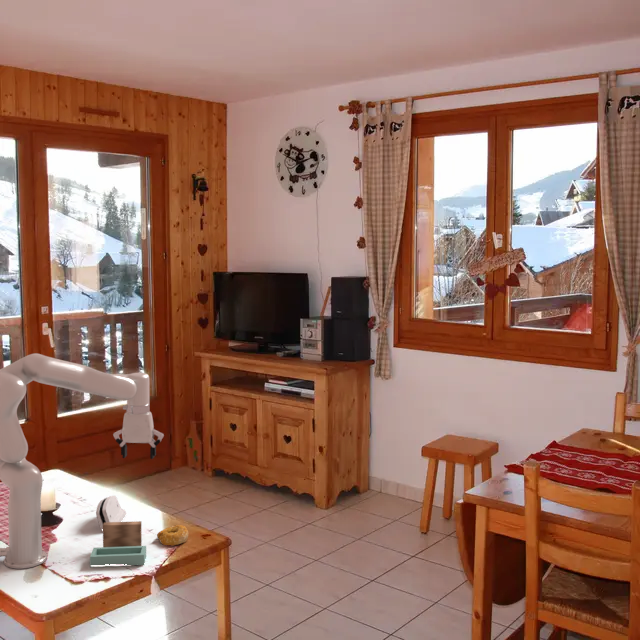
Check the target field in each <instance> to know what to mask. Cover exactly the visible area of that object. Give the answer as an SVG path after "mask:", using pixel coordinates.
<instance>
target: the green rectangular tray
mask: <svg viewBox="0 0 640 640" xmlns="http://www.w3.org/2000/svg"><path fill="white" fill-rule="evenodd" d="M145 559H147V545H142V546H126V547H103V546H101V547H93V548H92V551H91V553H90V555H89V566H90V565H105V564H109V565H110V564H124V565H125V564H127V565H144V566H145V564H144V563H146V560H145Z"/></svg>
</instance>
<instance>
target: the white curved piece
mask: <svg viewBox="0 0 640 640" xmlns="http://www.w3.org/2000/svg"><path fill="white" fill-rule="evenodd" d="M95 511H96V512H95V514H96V515H95V516H96V518H97V522H98V525H99V527H100V530H101V529H103V524H104V522H121V521H122V520H123V518H124V517H125V518H126V516H127V515H126V514H127V512H126V510H125V509H123V508H121V505H120V502H119V500H118V498H117V496H116V495H109V496H107V497H104V498H103V499H102V500H100V501H99V503H98V504H97V507H96V510H95ZM125 515H126V516H125ZM125 518H124V519H125ZM123 521H124V520H123ZM123 521H122V522H123Z"/></svg>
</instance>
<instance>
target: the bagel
mask: <svg viewBox="0 0 640 640" xmlns="http://www.w3.org/2000/svg"><path fill="white" fill-rule="evenodd" d="M156 536H157V539H158V540H159V542H160V543H161V544H162V545H163V546H165V545H171V547H172V546H177V545H178V546H179V545H181V544H183V543H185V542H186V541H187V540H188V538H189V531H188V528H187V527H186V526H185V525H181V524H176V525H175V526H171V527H169V526H168V527H165V528H164V529H162V530H161V531H159V532H157V534H156Z"/></svg>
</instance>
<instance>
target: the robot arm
mask: <svg viewBox="0 0 640 640" xmlns="http://www.w3.org/2000/svg"><path fill="white" fill-rule="evenodd" d="M33 381H34V382H37V383H40V384H44V385H49V386H53V387H58V388H63V389H67V390H72V391H76V392H80V393H85V394H92V395H95V396H100V397H105V398H109V399H113V400H118V401H123V402H125V401H126V404H125V405H122V410H126V411H125V412H124V415H123V422H122V428H121V429H120V430H116V432H113V434H112V435H113V438H114V439H115V442H116V443H117V444H118V445H119V447H120V455H121V456H122V459H126V457H127V456H128V445H127V443H128V444H131V443H132V444H134V443H135V444H149V445H150V447H149V448H150V449H149V453H150V455H149V457H150V459H151V460H153V459H154V458H155V457H156V455H157V446H158V445H159V444H160V443H161V442H162V439H163V438H164V436H165V435H164V434H165V433H163V432H160V431H159V430H156V429H155V428H154V427H155V426H154V419H153V414H152V412H151V411H150V376H149V374H148V373H146V372H132V373H127V374H126V373H124V374H123V373H121V374H120V373H113V374H111V373H107V372H103V371H101V370H98V369H95V368H93V367H90V366H88V365H85V364H84V365H83V364H80V363H77V362H76V363H75V362H71V361H67V360H62V359H58V358H55V357H51V356H47V355H44V354H42V353H41V354H40V353H37V352H36V353H31V354H28V355H26V356H23V357H22V358H19V359H17V360H16V361H14V362H12V363H10V364H8V365H6V366H4V367H2V368H0V481H1V483H3V484H4V485H5V486H7V488H9V496H8V502H7V503H8V504H7V513H8V514H7V515H8V520H7V521H8V546H6V547H0V557H4V559H3V563H4V565H5V566H6V567H7V568H11V569H20V570H21V569H29V568H33V567H37V566H39V565H41V564H43V563H44V562H46V561H47V559H48V554H47V552H46V551H45V550H42V549H43V548H42V545H43V543H42V538H43V537H42V509H41V505H42V503H41V502H42V501H41V500H42V499H41V498H42V490H43V489H42V488H43V483H44V482H43V475H42V473H41V470H40V469H39V468H38V467H37V466H36V465H35V464H33V463H32V462H31V461H28V460H27V459H26V458H27V455H28V451H29V445H28V441H27V439H26V437H25V435H24V432H23V429H22V426H21V424H20V420H19V418H18V408H19V405H20V403H21V402H22V400H24V399H25V395H26V394H27V385H28V384H29V383H31V382H33ZM120 435H121V437H122V438H120ZM155 436H156V437H157V440H155V439H154V438H155Z"/></svg>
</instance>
